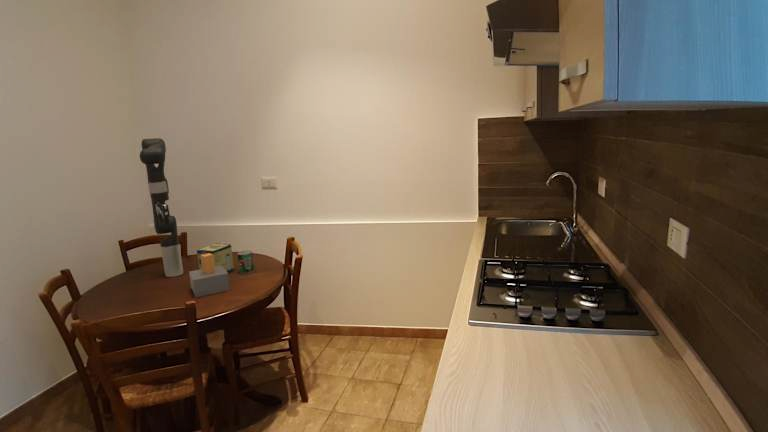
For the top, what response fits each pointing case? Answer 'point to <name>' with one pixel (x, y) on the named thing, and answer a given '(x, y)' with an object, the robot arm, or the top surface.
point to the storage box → (209, 281)
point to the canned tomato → (245, 262)
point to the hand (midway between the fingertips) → (164, 223)
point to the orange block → (207, 263)
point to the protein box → (218, 256)
